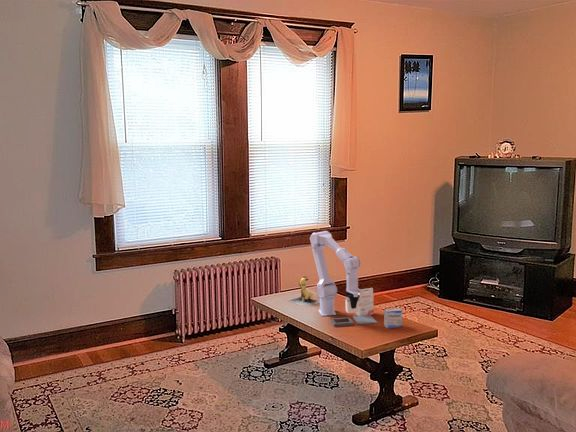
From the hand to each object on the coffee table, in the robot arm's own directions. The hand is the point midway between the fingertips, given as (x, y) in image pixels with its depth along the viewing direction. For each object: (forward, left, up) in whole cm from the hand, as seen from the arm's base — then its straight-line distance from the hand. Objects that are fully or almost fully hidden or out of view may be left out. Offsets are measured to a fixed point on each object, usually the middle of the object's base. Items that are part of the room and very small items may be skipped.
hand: (352, 306), depth 287 cm
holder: (+1, -6, -8) cm, 10 cm away
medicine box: (+11, +18, -8) cm, 22 cm away
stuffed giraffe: (-40, -15, -8) cm, 44 cm away
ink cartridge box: (-10, +9, -8) cm, 16 cm away
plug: (0, 0, -2) cm, 2 cm away
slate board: (-1, +7, -8) cm, 10 cm away
